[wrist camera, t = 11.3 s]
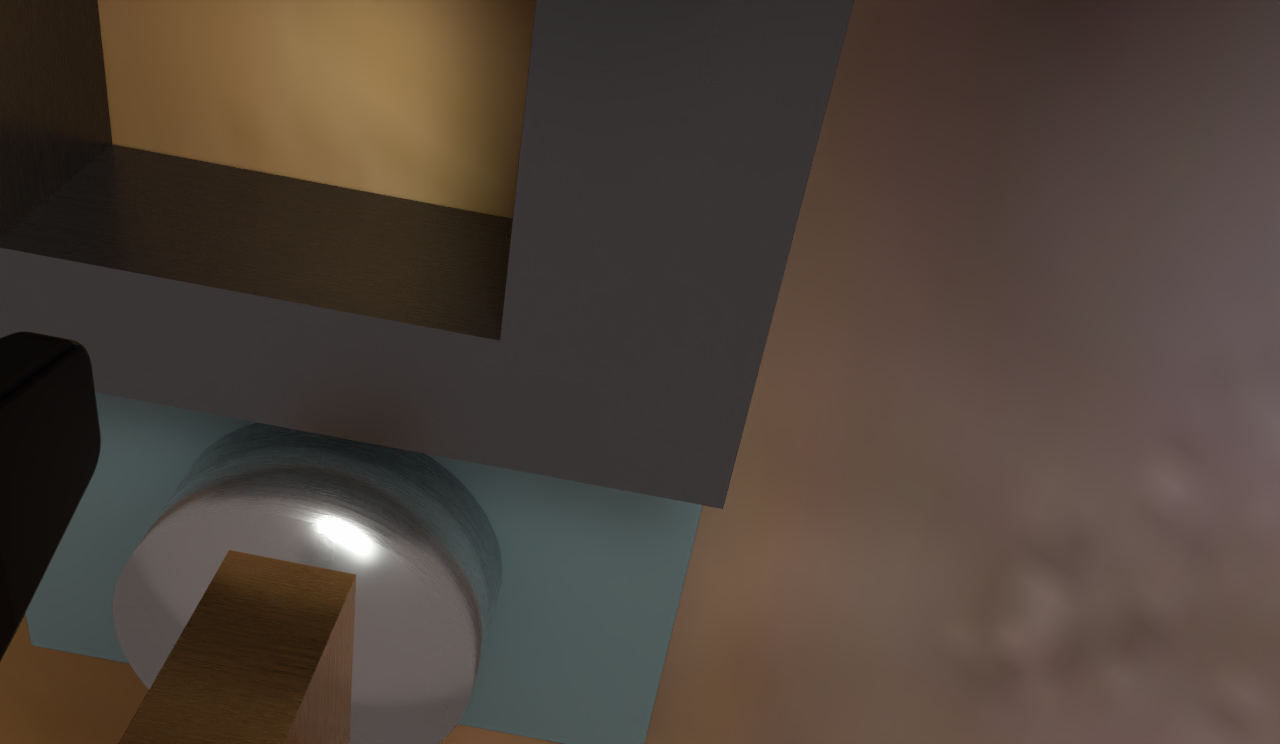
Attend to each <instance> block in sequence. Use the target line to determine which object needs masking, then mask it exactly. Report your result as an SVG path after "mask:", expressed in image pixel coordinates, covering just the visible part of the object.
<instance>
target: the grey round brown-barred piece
mask: <svg viewBox="0 0 1280 744" xmlns="http://www.w3.org/2000/svg"><path fill="white" fill-rule="evenodd" d="M501 582H502V560H501V552H500V548H499V544H498V541H497V537H496V534H495V532H494V530H493V527H492V525H491V523H490V521H489V519H488V517H487V515H486V514H485V512H484V511H483V509H482V508H481V506H480V504H479V503H478V501H477V500H476V499H475V498H474V496H473V495H472V494H471V493H470V492H469V491H468V489H467V488H466V487H465V486H464V485H463V484H462V483H461V482H460V481H459V480H458V479H457V478H456V477H455V476H454V475H453V474H452V473H451V472H450V471H448V470H447V469H446V468H445V467H443V466H442V465H441V464H439V463H438V462H437V461H435V460H434V459H433V458H431V457H430V456H428V455H427V454H425V453H419V452H414V451H408V450H403V449H398V448H392V447H387V446H381V445H376V444H371V443H365V442H360V441H355V440H349V439H344V438H338V437H333V436H328V435H322V434H317V433H311V432H306V431H301V430H295V429H290V428H284V427H279V426H274V425H268V424H263V423H254V424H251V425H248V426H245V427H242V428H240V429H237V430H235V431H233V432H231V433H229V434H227V435H225V436H223V437H221V438H220V439H219V440H217V441H216V442H215V443H213V444H212V445H211V446H209V447H208V448H207V449H206V450H205V451H204V452H203V453H202V454H201V455H200V456H199V457H198V458H197V459H196V460H195V462H194V463H193V465H192V466H191V468H190V469H189V471H188V472H187V474H186V475H185V477H184V478H183V480H182V481H181V483H180V484H179V486H178V487H177V489H176V490H175V491H174V493H173V494H172V496H171V497H170V499H169V500H168V502H167V503H166V505H165V506H164V508H163V509H162V511H161V512H160V514H159V515H158V517H157V518H156V520H155V521H154V523H153V524H152V526H151V527H150V529H149V530H148V532H147V533H146V535H145V536H144V538H143V539H142V541H141V542H140V544H139V545H138V547H137V548H136V550H135V551H134V553H133V554H132V556H131V557H130V559H129V560H128V562H127V563H126V565H125V566H124V568H123V569H122V571H121V573H120V576H119V578H118V581H117V584H116V586H115V592H114V598H113V620H114V625H115V630H116V635H117V638H118V640H119V643H120V645H121V648H122V651H123V653H124V655H125V656H126V658H127V660H128V662H129V664H130V665H131V667H132V669H133V670H134V672H135V673H136V674H137V676H138V677H139V678H140V680H141V681H142V682H143V684H144V685H145V686H146V687H147V688H148V689H149V691H148V693H147V694H146V696H145V698H144V700H143V701H142V703H141V705H140V707H139V708H138V710H137V712H136V714H135V715H134V717H133V719H132V721H131V722H130V724H129V726H128V728H127V729H126V731H125V733H124V735H123V736H122V738H121V740H120V742H119V743H118V744H438V743H440V742H441V741H442V740H443V739H444V738H445V737H446V736H447V735H448V734H449V733H450V732H451V731H452V730H453V729H454V728H455V726H456V725H457V724H458V722H459V721H460V719H461V718H462V716H463V714H464V712H465V709H466V707H467V705H468V703H469V699H470V695H471V692H472V688H473V685H474V681H475V678H476V674H477V670H478V667H479V663H480V660H481V656H482V653H483V649H484V645H485V642H486V638H487V635H488V631H489V628H490V624H491V621H492V617H493V613H494V610H495V606H496V603H497V599H498V595H499V591H500V587H501Z"/></svg>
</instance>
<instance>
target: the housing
mask: <svg viewBox="0 0 1280 744" xmlns="http://www.w3.org/2000/svg"><path fill="white" fill-rule="evenodd" d="M853 2H854V0H536V6H535V16H534V25H533V35H532V44H531V53H530V63H529V72H528V82H527V91H526V101H525V110H524V120H523V129H522V138H521V148H520V157H519V167H518V176H517V186H516V195H515V205H514V214H513V219H509V218H504V217H498V216H493V215H488V214H482V213H477V212H472V211H466V210H461V209H456V208H450V207H445V206H439V205H434V204H429V203H423V202H418V201H413V200H407V199H402V198H397V197H391V196H386V195H380V194H375V193H370V192H364V191H359V190H354V189H348V188H343V187H338V186H332V185H327V184H322V183H316V182H311V181H305V180H300V179H295V178H289V177H284V176H279V175H273V174H268V173H263V172H257V171H252V170H246V169H241V168H236V167H230V166H225V165H220V164H214V163H209V162H204V161H198V160H193V159H187V158H182V157H177V156H171V155H166V154H161V153H155V152H150V151H145V150H139V149H134V148H128V147H123V146H118V145H112V141H111V131H110V122H109V112H108V102H107V93H106V83H105V73H104V64H103V54H102V45H101V35H100V25H99V16H98V6H97V0H0V338H2V337H4V336H7V335H10V334H13V333H16V332H33V333H39V334H44V335H49V336H55V337H60V338H65V339H71V340H75V341H77V342H79V343H80V344H81V345H83V346H84V347H85V348H86V350H87V352H88V354H89V356H90V360H91V364H92V371H93V379H94V387H95V392H96V393H101V394H107V395H112V396H117V397H123V398H128V399H133V400H139V401H144V402H150V403H155V404H160V405H166V406H171V407H177V408H182V409H187V410H193V411H198V412H204V413H209V414H214V415H220V416H225V417H231V418H236V419H241V420H247V421H252V422H257V423H263V424H268V425H274V426H279V427H284V428H290V429H295V430H301V431H306V432H311V433H317V434H322V435H328V436H333V437H338V438H344V439H349V440H355V441H360V442H365V443H371V444H376V445H381V446H387V447H392V448H398V449H403V450H408V451H414V452H419V453H425V454H430V455H435V456H441V457H446V458H452V459H457V460H462V461H468V462H473V463H479V464H484V465H489V466H495V467H500V468H505V469H511V470H516V471H522V472H527V473H532V474H538V475H543V476H549V477H554V478H559V479H565V480H570V481H576V482H581V483H586V484H592V485H597V486H603V487H608V488H613V489H619V490H624V491H629V492H635V493H640V494H646V495H651V496H656V497H662V498H667V499H673V500H678V501H683V502H689V503H694V504H700V505H705V506H710V507H716V508H721V509H723V506H724V503H725V499H726V495H727V491H728V487H729V483H730V479H731V475H732V472H733V468H734V464H735V460H736V456H737V452H738V448H739V444H740V441H741V437H742V433H743V429H744V425H745V421H746V417H747V413H748V410H749V406H750V402H751V398H752V394H753V390H754V386H755V382H756V379H757V375H758V371H759V367H760V363H761V359H762V355H763V351H764V348H765V344H766V340H767V336H768V332H769V328H770V324H771V320H772V316H773V313H774V309H775V305H776V301H777V297H778V293H779V289H780V285H781V282H782V278H783V274H784V270H785V266H786V262H787V258H788V254H789V251H790V247H791V243H792V239H793V235H794V231H795V227H796V223H797V220H798V216H799V212H800V208H801V204H802V200H803V196H804V192H805V189H806V185H807V181H808V177H809V173H810V169H811V165H812V161H813V158H814V154H815V150H816V146H817V142H818V138H819V134H820V130H821V127H822V123H823V119H824V115H825V111H826V107H827V103H828V99H829V96H830V92H831V88H832V84H833V80H834V76H835V72H836V68H837V65H838V61H839V57H840V53H841V49H842V45H843V41H844V37H845V33H846V30H847V26H848V22H849V18H850V14H851V10H852V6H853Z"/></svg>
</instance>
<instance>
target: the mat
mask: <svg viewBox="0 0 1280 744" xmlns="http://www.w3.org/2000/svg"><path fill="white" fill-rule="evenodd" d="M95 395H96V402H97V410H98V418H99V426H100V434H101V448H100V455H99V460H98V463H97V467H96V470H95V472H94V474H93V477H92V479H91V481H90V483H89V485H88V487H87V489H86V491H85V493H84V495H83V497H82V499H81V501H80V503H79V505H78V507H77V509H76V511H75V513H74V515H73V517H72V519H71V521H70V523H69V525H68V528H67V530H66V532H65V534H64V536H63V538H62V540H61V542H60V544H59V546H58V548H57V550H56V552H55V554H54V556H53V558H52V560H51V562H50V564H49V566H48V568H47V570H46V572H45V574H44V576H43V578H42V580H41V582H40V584H39V586H38V588H37V591H36V593H35V595H34V597H33V599H32V601H31V603H30V605H29V607H28V609H27V611H26V613H25V614H26V619H27V624H28V629H29V634H30V639H31V644H32V646H37V647H43V648H48V649H54V650H59V651H64V652H70V653H75V654H81V655H86V656H92V657H97V658H102V659H108V660H113V661H119V662H124V663H129V662H128V660H127V658H126V656H125V655H124V653H123V651H122V648H121V645H120V643H119V640H118V638H117V635H116V630H115V625H114V620H113V598H114V592H115V586H116V584H117V581H118V578H119V576H120V573H121V571H122V569H123V568H124V566H125V565H126V563H127V562H128V560H129V559H130V557H131V556H132V554H133V553H134V551H135V550H136V548H137V547H138V545H139V544H140V542H141V541H142V539H143V538H144V536H145V535H146V533H147V532H148V530H149V529H150V527H151V526H152V524H153V523H154V521H155V520H156V518H157V517H158V515H159V514H160V512H161V511H162V509H163V508H164V506H165V505H166V503H167V502H168V500H169V499H170V497H171V496H172V494H173V493H174V491H175V490H176V489H177V487H178V486H179V484H180V483H181V481H182V480H183V478H184V477H185V475H186V474H187V472H188V471H189V469H190V468H191V466H192V465H193V463H194V462H195V460H196V459H197V458H198V457H199V456H200V455H201V454H202V453H203V452H204V451H205V450H206V449H207V448H208V447H209V446H211V445H212V444H213V443H215V442H216V441H217V440H219V439H220V438H221V437H223V436H225V435H227V434H229V433H231V432H233V431H235V430H237V429H240V428H242V427H245V426H248V425H251V424H254V423H257V422H252V421H247V420H241V419H236V418H231V417H225V416H220V415H214V414H209V413H204V412H198V411H193V410H187V409H182V408H177V407H171V406H166V405H160V404H155V403H150V402H144V401H139V400H133V399H128V398H123V397H117V396H112V395H107V394H101V393H96V392H95ZM427 455H428V456H430V457H431V458H433V459H434V460H435V461H437V462H438V463H439V464H441V465H442V466H443V467H445V468H446V469H447V470H448V471H450V472H451V473H452V474H453V475H454V476H455V477H456V478H457V479H458V480H459V481H460V482H461V483H462V484H463V485H464V486H465V487H466V488H467V489H468V491H469V492H470V493H471V494H472V495H473V496H474V498H475V499H476V500H477V501H478V503H479V504H480V506H481V508H482V509H483V511H484V512H485V514H486V515H487V517H488V519H489V521H490V523H491V525H492V527H493V530H494V532H495V534H496V537H497V541H498V544H499V548H500V552H501V560H502V582H501V587H500V591H499V595H498V599H497V603H496V606H495V610H494V613H493V617H492V621H491V624H490V628H489V631H488V635H487V638H486V642H485V645H484V649H483V653H482V656H481V660H480V663H479V667H478V670H477V674H476V678H475V681H474V685H473V688H472V692H471V695H470V699H469V703H468V705H467V707H466V709H465V712H464V714H463V716H462V718H461V719H460V721H459V722H458V724H460V725H466V726H471V727H476V728H482V729H487V730H493V731H498V732H504V733H509V734H514V735H520V736H525V737H531V738H536V739H542V740H547V741H552V742H558V743H563V744H644V743H645V739H646V735H647V731H648V727H649V723H650V719H651V715H652V711H653V707H654V702H655V698H656V694H657V690H658V686H659V682H660V678H661V674H662V670H663V666H664V662H665V657H666V653H667V649H668V645H669V641H670V637H671V633H672V629H673V625H674V621H675V617H676V613H677V608H678V604H679V600H680V596H681V592H682V588H683V584H684V580H685V576H686V572H687V568H688V563H689V559H690V555H691V551H692V547H693V543H694V539H695V535H696V531H697V527H698V523H699V519H700V514H701V510H702V506H703V505H700V504H694V503H689V502H683V501H678V500H673V499H667V498H662V497H656V496H651V495H646V494H640V493H635V492H629V491H624V490H619V489H613V488H608V487H603V486H597V485H592V484H586V483H581V482H576V481H570V480H565V479H559V478H554V477H549V476H543V475H538V474H532V473H527V472H522V471H516V470H511V469H505V468H500V467H495V466H489V465H484V464H479V463H473V462H468V461H462V460H457V459H452V458H446V457H441V456H435V455H430V454H427Z"/></svg>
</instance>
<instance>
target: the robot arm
mask: <svg viewBox="0 0 1280 744" xmlns="http://www.w3.org/2000/svg"><path fill="white" fill-rule="evenodd" d="M100 448H101V434H100V426H99V418H98V410H97V402H96V395H95V387H94V379H93V371H92V364H91V360H90V356H89V354H88V352H87V350H86V348H85V347H84V346H83V345H81V344H80V343H79V342H77V341H75V340H71V339H65V338H60V337H55V336H49V335H44V334H39V333H33V332H16V333H13V334H10V335H7V336H4V337H2V338H0V661H1V659H2V657H3V656H4V654H5V652H6V650H7V648H8V646H9V644H10V642H11V640H12V639H13V637H14V635H15V633H16V631H17V629H18V627H19V625H20V623H21V621H22V619H23V617H24V615H25V613H26V611H27V609H28V607H29V605H30V603H31V601H32V599H33V597H34V595H35V593H36V591H37V588H38V586H39V584H40V582H41V580H42V578H43V576H44V574H45V572H46V570H47V568H48V566H49V564H50V562H51V560H52V558H53V556H54V554H55V552H56V550H57V548H58V546H59V544H60V542H61V540H62V538H63V536H64V534H65V532H66V530H67V528H68V525H69V523H70V521H71V519H72V517H73V515H74V513H75V511H76V509H77V507H78V505H79V503H80V501H81V499H82V497H83V495H84V493H85V491H86V489H87V487H88V485H89V483H90V481H91V479H92V477H93V474H94V472H95V470H96V467H97V463H98V460H99V455H100Z"/></svg>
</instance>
